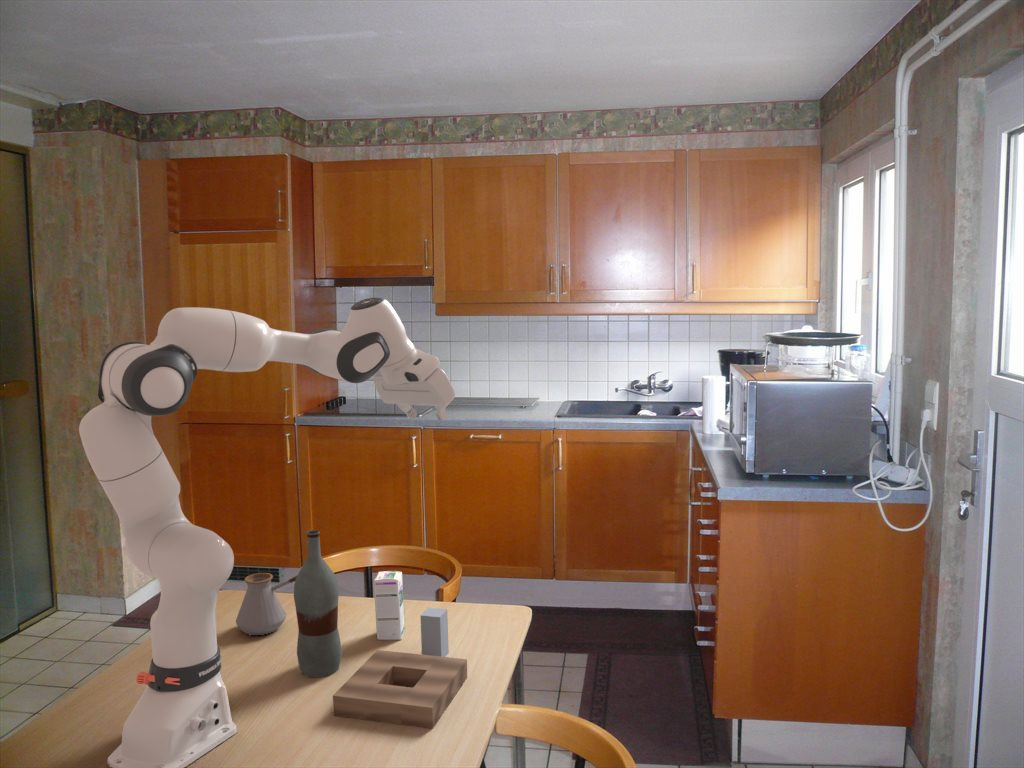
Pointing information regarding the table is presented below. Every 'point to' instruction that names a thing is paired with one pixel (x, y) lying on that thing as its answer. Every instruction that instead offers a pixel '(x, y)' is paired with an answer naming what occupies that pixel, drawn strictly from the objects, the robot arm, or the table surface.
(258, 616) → the coffee pot
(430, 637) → the peg
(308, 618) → the bottle
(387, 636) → the syrup box
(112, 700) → the table surface
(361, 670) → the socket block
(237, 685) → the table surface
